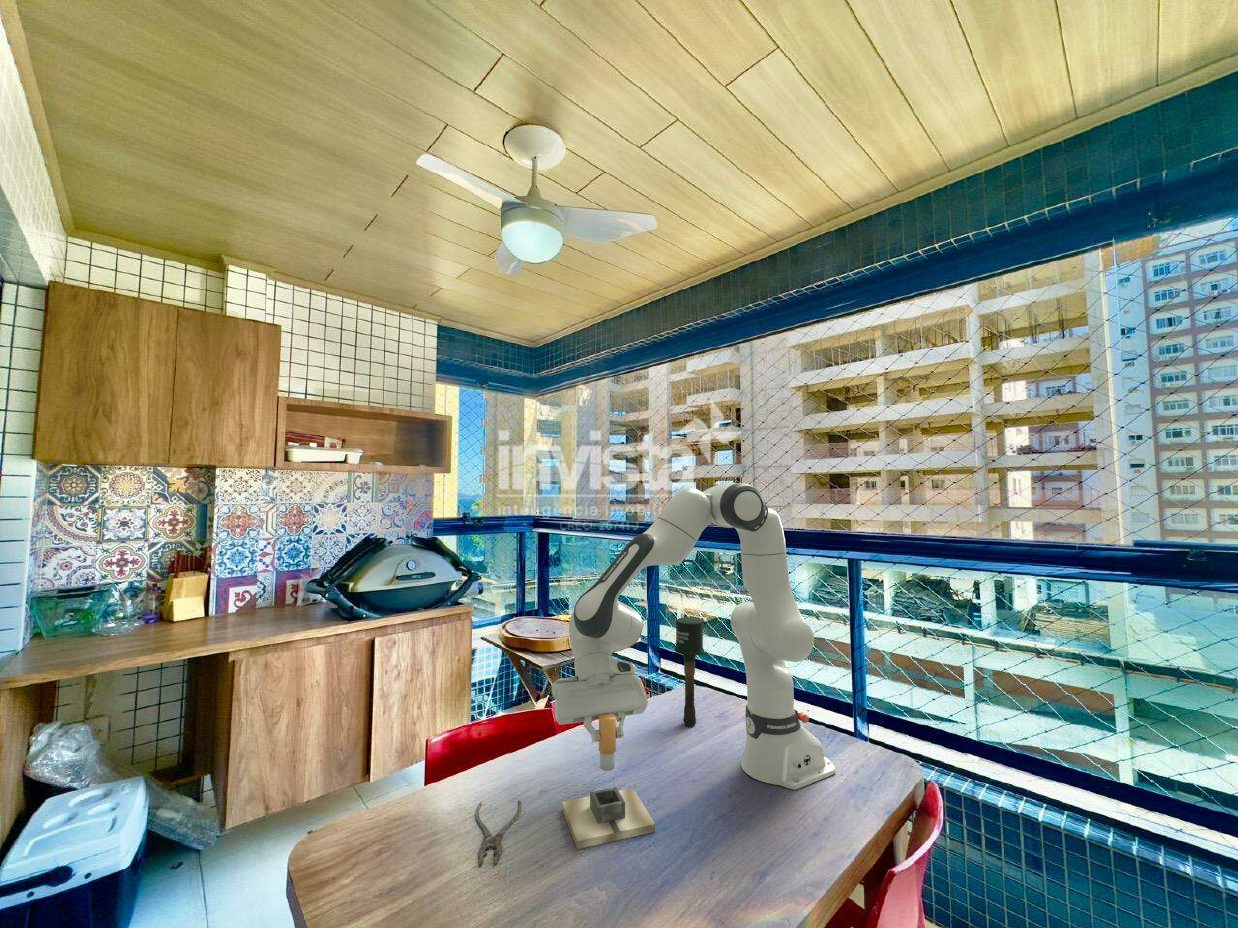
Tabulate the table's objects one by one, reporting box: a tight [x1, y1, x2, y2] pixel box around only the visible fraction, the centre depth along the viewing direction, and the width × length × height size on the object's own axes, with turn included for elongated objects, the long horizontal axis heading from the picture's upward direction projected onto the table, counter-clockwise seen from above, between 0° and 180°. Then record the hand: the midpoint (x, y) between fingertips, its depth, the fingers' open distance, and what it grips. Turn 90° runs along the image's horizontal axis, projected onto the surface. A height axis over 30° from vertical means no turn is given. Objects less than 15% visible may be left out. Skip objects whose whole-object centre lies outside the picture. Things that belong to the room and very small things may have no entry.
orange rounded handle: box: [598, 714, 617, 772], centre depth 105 cm, size 4×4×10 cm
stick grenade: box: [674, 616, 705, 728], centre depth 149 cm, size 8×9×30 cm
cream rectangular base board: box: [561, 786, 656, 850], centre depth 104 cm, size 16×13×4 cm
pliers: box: [475, 799, 523, 868], centre depth 101 cm, size 10×1×20 cm
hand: (608, 739), depth 105 cm, fingers closed on orange rounded handle, 4 cm apart
